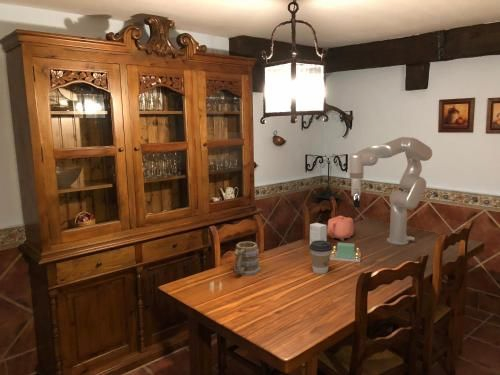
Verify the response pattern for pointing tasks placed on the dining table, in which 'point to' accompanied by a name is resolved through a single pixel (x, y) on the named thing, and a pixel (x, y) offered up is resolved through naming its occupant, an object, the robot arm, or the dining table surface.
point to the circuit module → (345, 249)
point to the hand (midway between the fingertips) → (356, 205)
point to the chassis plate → (344, 258)
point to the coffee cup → (320, 256)
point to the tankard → (247, 258)
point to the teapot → (340, 227)
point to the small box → (318, 232)
